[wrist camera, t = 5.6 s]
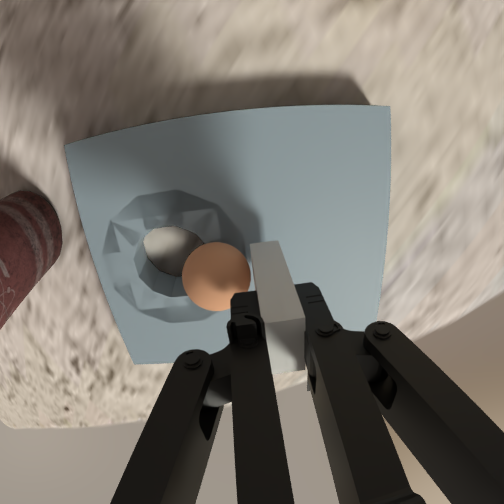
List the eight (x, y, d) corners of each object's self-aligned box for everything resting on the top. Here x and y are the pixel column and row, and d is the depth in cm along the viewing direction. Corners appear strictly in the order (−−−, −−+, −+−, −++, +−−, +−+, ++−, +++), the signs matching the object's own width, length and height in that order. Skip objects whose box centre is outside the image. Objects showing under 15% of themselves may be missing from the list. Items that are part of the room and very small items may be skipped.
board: (82, 139, 17) (64, 145, 14) (371, 105, 17) (390, 106, 15) (140, 342, 24) (134, 364, 21) (362, 316, 24) (373, 336, 22)
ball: (199, 268, 13) (261, 241, 16) (163, 248, 16) (219, 227, 18) (214, 334, 15) (268, 302, 17) (178, 306, 17) (227, 282, 20)
